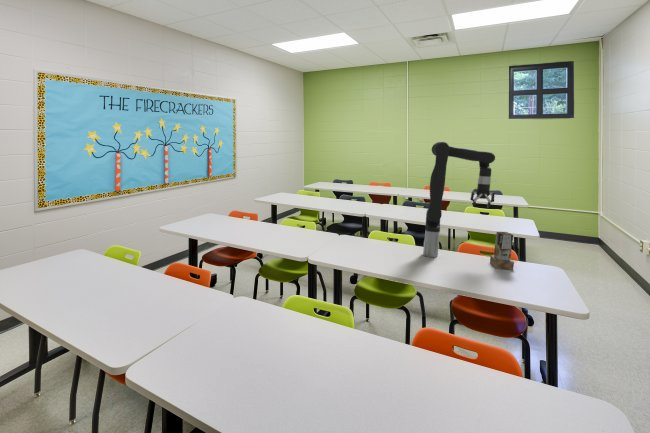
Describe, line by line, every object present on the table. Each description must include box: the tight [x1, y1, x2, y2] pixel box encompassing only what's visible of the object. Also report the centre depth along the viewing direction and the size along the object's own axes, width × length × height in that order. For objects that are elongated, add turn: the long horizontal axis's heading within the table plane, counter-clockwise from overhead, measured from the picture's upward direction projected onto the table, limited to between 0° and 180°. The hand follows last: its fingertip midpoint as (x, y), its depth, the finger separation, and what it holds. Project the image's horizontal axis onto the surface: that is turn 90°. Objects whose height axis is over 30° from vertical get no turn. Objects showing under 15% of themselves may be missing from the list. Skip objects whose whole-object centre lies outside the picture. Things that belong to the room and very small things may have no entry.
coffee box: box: [493, 231, 514, 261], centre depth 215 cm, size 9×6×16 cm
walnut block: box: [489, 254, 515, 271], centre depth 217 cm, size 10×12×5 cm
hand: (481, 207), depth 232 cm, fingers open, 8 cm apart
